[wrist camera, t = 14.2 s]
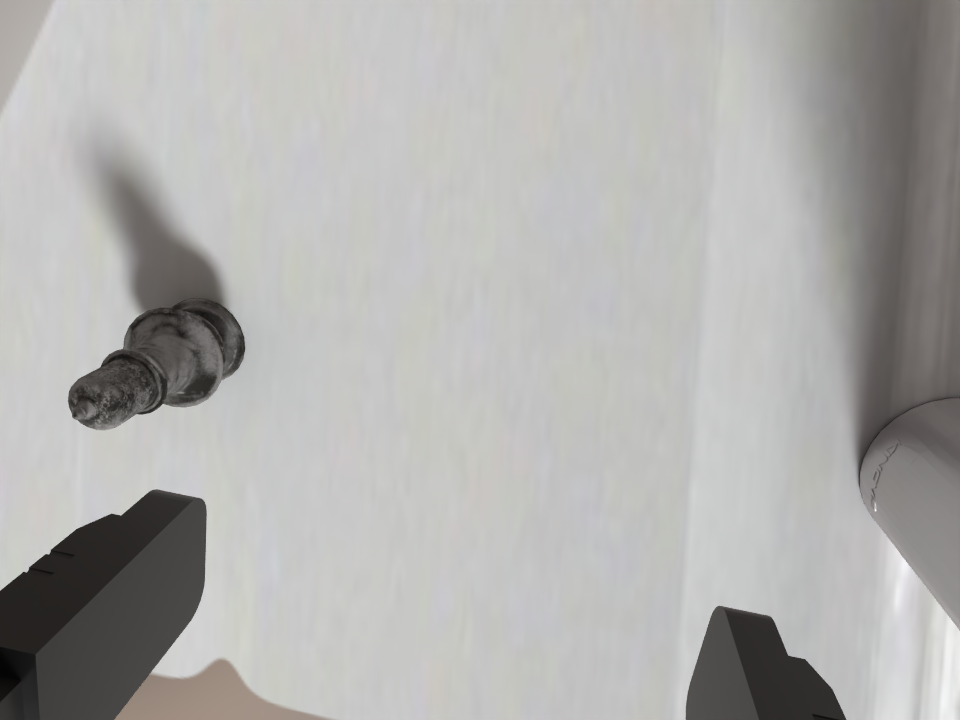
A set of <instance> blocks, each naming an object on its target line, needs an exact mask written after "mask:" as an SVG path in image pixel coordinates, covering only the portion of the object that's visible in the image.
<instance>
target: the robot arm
mask: <svg viewBox="0 0 960 720" xmlns="http://www.w3.org/2000/svg"><path fill="white" fill-rule="evenodd" d="M860 490H861V494H862V498H863V501H864V504H865V506H866V507H867V509H868V511H869V513H870V514H871V516H872V517H873V519H874V520H875V521H876V522H877V524H878V525H879V526H880V528H881V529H882V530H883V532H884V533H885V534H886V535H887V537H888V538H889V539H890V541H891V542H892V543H893V544H894V546H895V547H896V548H897V550H898V551H899V552H900V554H901V555H902V557H903V558H904V559H905V560H906V562H907V563H908V564H909V566H910V567H911V568H912V569H913V571H914V572H915V573H916V575H917V576H918V577H919V578H920V580H921V581H922V582H923V584H924V585H925V586H926V587H927V589H928V590H929V591H930V593H931V594H932V595H933V596H934V598H935V599H936V600H937V602H938V603H939V604H940V605H941V607H942V608H943V609H944V611H945V612H946V613H947V614H948V616H949V617H950V618H951V620H952V621H953V622H954V623H955V625H956V626H957V627H958V629H959V630H960V398H948V399H943V400H938V401H933V402H929V403H926V404H923V405H921V406H918V407H915V408H913V409H911V410H909V411H907V412H906V413H904V414H902V415H900V416H899V417H897V418H895V419H894V420H893V421H892V422H891V423H890V424H888V425H887V426H886V427H885V428H884V429H883V430H882V431H881V432H880V433H879V434H878V436H877V437H876V438H875V439H874V441H873V442H872V443H871V445H870V447H869V449H868V451H867V453H866V455H865V457H864V459H863V463H862V468H861V472H860ZM206 515H207V514H206V505H205V502H204V501H203V500H202V499H200V498H196V497H191V496H186V495H181V494H176V493H171V492H166V491H161V490H157V489H156V490H152V491H150V492H149V493H147V494H146V495H145V496H144V497H143V498H141V499H140V500H139V501H138V502H137V503H136V504H134V505H133V506H132V507H131V508H130V509H129V510H127V511H126V512H125V513H124V514H123V515H122V516H120V515H115V514H110V515H108V516H105V517H103V518H101V519H99V520H96V521H94V522H92V523H89V524H87V525H85V526H83V527H80V528H78V529H76V530H75V531H74V532H73V533H71V534H70V535H69V536H68V537H66V538H65V539H64V540H63V541H61V542H60V543H59V544H58V545H56V546H55V547H54V548H53V549H51V552H50V554H49V555H48V554H45V555H44V556H43V557H42V558H40V559H39V560H38V561H37V562H35V563H34V564H33V565H32V566H30V567H29V571H28V572H27V573H26V572H23V573H22V574H21V575H19V576H18V577H17V578H16V579H14V580H13V581H12V582H11V583H9V584H8V585H7V586H6V587H4V588H3V589H2V590H1V591H0V720H114V719H115V718H116V716H117V715H118V714H119V713H120V711H121V710H122V709H123V707H124V706H125V705H126V704H127V702H128V701H129V700H130V698H131V697H132V696H133V694H134V693H135V692H136V691H137V689H138V688H139V687H140V686H141V684H142V683H143V681H144V680H145V679H146V678H147V677H148V675H149V674H150V673H151V671H152V670H153V669H154V667H155V666H156V665H157V664H158V662H159V661H160V660H161V658H162V657H163V656H164V655H165V653H166V652H167V651H168V649H169V648H170V647H171V646H172V644H173V643H174V642H175V640H176V639H177V638H178V637H179V635H180V634H181V633H182V631H183V630H184V629H185V628H186V626H187V625H188V624H189V622H190V621H191V619H192V618H193V616H194V614H195V612H196V610H197V608H198V605H199V603H200V600H201V597H202V593H203V589H204V582H205V552H206ZM686 720H846V718H845V716H844V714H843V711H842V709H841V707H840V705H839V703H838V701H837V698H836V696H835V694H834V692H833V690H832V689H831V687H830V686H829V685H828V684H827V683H826V682H825V681H824V680H823V679H822V677H821V676H820V675H819V674H818V673H817V672H816V671H815V670H814V669H813V667H812V666H811V665H810V664H809V663H808V662H807V661H806V660H805V659H801V658H796V657H791V656H788V654H787V652H786V649H785V647H784V644H783V642H782V639H781V637H780V635H779V632H778V630H777V627H776V625H775V623H774V621H773V619H772V618H771V617H770V616H767V615H762V614H757V613H752V612H747V611H742V610H737V609H732V608H727V607H723V606H718V607H716V608H715V610H714V611H713V613H712V616H711V618H710V621H709V625H708V628H707V631H706V634H705V637H704V641H703V644H702V647H701V650H700V653H699V657H698V660H697V663H696V666H695V669H694V673H693V676H692V679H691V682H690V686H689V690H688V695H687V703H686Z"/></svg>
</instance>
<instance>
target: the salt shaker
mask: <svg viewBox="0 0 960 720" xmlns="http://www.w3.org/2000/svg"><path fill="white" fill-rule="evenodd" d="M244 352H245V342H244V336H243V333H242V330H241V328H240V326H239V324H238V323H237V321H236V319H235V318H234V317H233V316H232V315H231V314H230V313H229V312H228V311H227V310H226V309H225V308H223V307H222V306H220V305H218V304H217V303H215V302H212V301H209V300H205V299H190V300H185V301H182V302H180V303H179V304H177V305H175V306H174V307H173V308H158V309H154V310H149V311H147V312H145V313H144V314H142V315H140V316H139V317H137V318H136V319H135V320H134V322H133V323H132V324H131V325H130V326H129V328H128V331H127V333H126V335H125V338H124V347H123V349H121V350H117V351H115V352H113V353H111V354H109V355H108V356H107V357H106V358H105V359H104V361H103V363H102V365H101V367H100V368H99V369H97V370H95V371H93V372H91V373H89V374H87V375H85V376H83V377H81V378H80V379H78V380H77V381H76V382H75V383H74V384H73V386H72V387H71V389H70V391H69V397H68V403H69V408H70V410H71V412H72V417H73V418H74V419H76V420H78V421H79V422H80V423H81V424H83V425H85V426H87V427H89V428H93V429H96V430H108V429H112V428H115V427H117V426H119V425H121V424H122V423H124V422H125V421H127V420H128V419H130V418H131V417H133V416H134V415H136V414H147V413H151V412H153V411H155V410H157V409H158V408H159V407H160V406H161V405H162V404H166V405H169V406H172V407H189V406H194V405H198V404H200V403H202V402H204V401H205V400H207V399H208V398H209V397H210V396H211V395H212V394H213V393H214V392H215V391H216V390H217V388H218V386H219V384H220V382H221V380H223V379H225V378H227V377H229V376H231V375H232V374H233V373H234V372H235V371H236V370H237V369H238V368H239V366H240V364H241V362H242V360H243V357H244Z"/></svg>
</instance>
